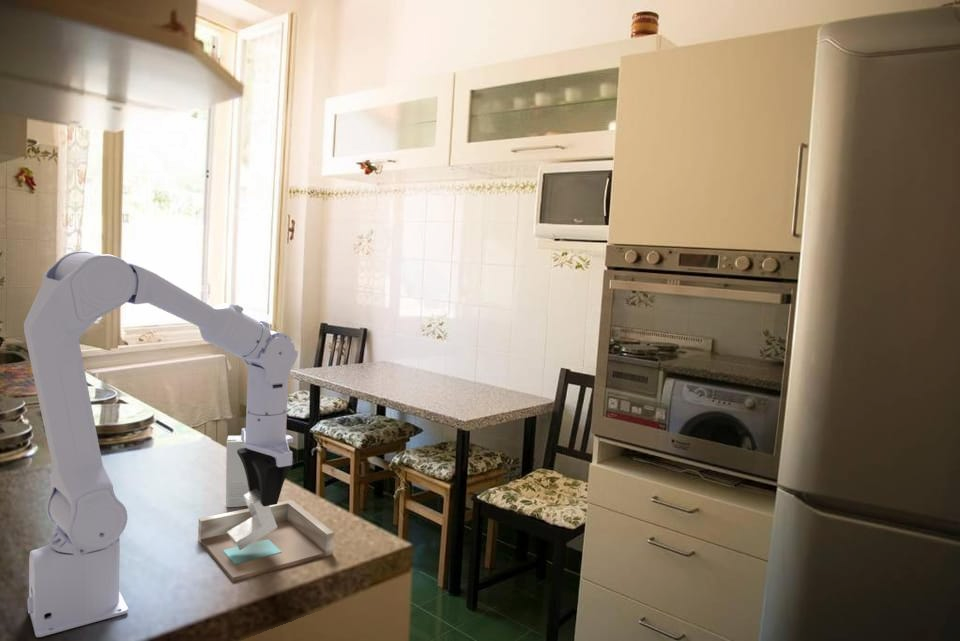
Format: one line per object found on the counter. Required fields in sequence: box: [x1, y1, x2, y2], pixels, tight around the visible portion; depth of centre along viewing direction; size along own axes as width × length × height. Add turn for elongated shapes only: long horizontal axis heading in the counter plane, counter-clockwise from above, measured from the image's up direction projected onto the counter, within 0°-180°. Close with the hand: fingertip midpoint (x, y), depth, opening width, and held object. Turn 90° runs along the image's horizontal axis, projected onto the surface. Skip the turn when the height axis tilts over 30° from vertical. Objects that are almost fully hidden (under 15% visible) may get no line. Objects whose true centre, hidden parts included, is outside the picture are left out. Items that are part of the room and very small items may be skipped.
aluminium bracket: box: [227, 488, 278, 550], centre depth 95 cm, size 4×6×6 cm, turn 130°
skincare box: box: [225, 434, 250, 508], centre depth 115 cm, size 6×4×12 cm
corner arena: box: [197, 499, 335, 583], centre depth 99 cm, size 15×15×4 cm
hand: (263, 499), depth 96 cm, fingers closed on aluminium bracket, 4 cm apart
